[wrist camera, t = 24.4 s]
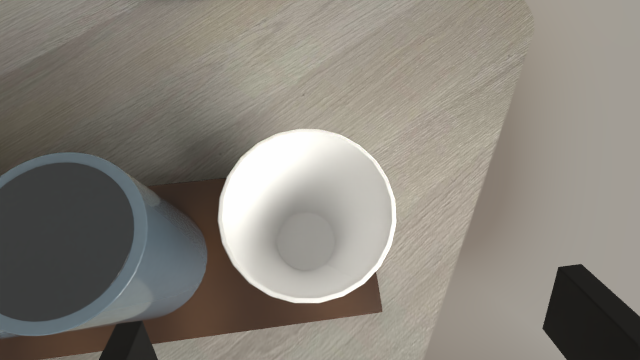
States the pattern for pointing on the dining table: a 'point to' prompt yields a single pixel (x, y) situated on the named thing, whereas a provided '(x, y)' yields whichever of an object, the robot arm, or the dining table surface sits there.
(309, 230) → the cup
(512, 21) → the dining table surface
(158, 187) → the walnut board
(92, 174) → the slate cup
